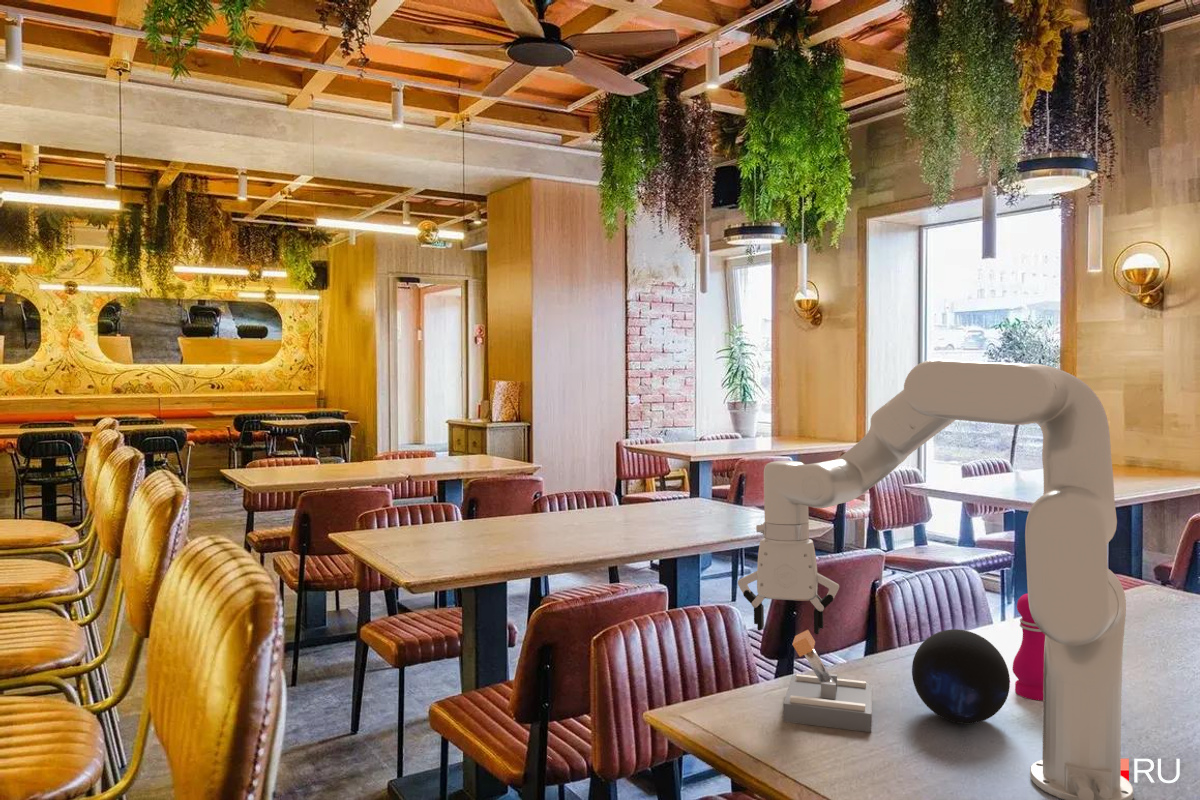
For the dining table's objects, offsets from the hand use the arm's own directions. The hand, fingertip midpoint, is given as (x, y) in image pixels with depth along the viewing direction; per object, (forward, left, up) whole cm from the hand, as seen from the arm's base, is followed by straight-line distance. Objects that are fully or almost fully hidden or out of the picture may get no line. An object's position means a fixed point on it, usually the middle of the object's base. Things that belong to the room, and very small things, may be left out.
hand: (788, 630), depth 147 cm
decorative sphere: (+3, -28, -14) cm, 31 cm away
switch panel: (0, -7, -13) cm, 15 cm away
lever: (0, -7, -9) cm, 11 cm away
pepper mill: (+20, -42, -14) cm, 48 cm away
